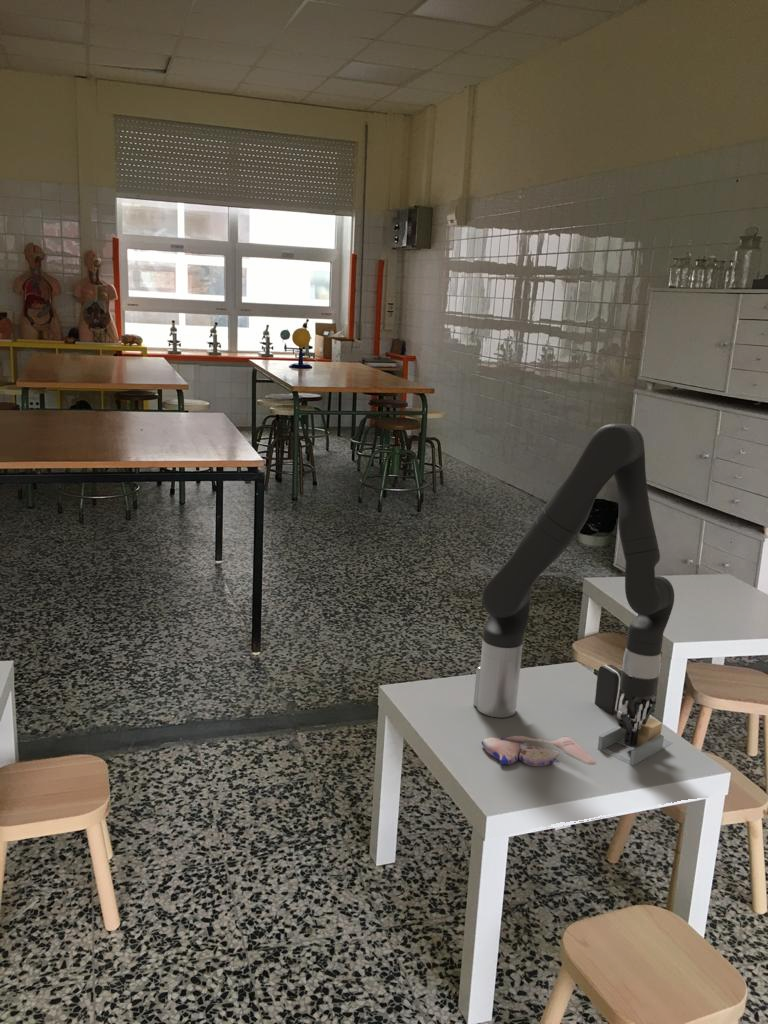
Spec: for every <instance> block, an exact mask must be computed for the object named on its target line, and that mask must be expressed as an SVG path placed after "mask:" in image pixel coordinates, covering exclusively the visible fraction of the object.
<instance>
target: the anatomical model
mask: <svg viewBox="0 0 768 1024" xmlns="http://www.w3.org/2000/svg"><path fill="white" fill-rule="evenodd" d="M524 741H533V742H541V743H545V744H550V745H553V746H555V747H556V748H558V749H560V750H561V751H562V752H563V753H565V754H566V755H567V756H569V757H572V758H573V759H576V760H578V761H579V762H582V763H584V764H586V765H591V766H593V765H596V764H597V763H598V761H597V760H596V759H595V758H594V757H593V756H592V755H590V754H589V753H588V752H587V751H586V750H585V749H584V748H582V746H580V745H579V744H578V743H577V742H576V741H574V740H573V739H572V738H570V737H568V736H563V737H560V738H558V739H556V740H553V741H551V740H550V741H548V740H546V739H543V738H534V737H533V738H532V737H529V736H525V735H513V736H506V737H486V738H485V739H482V740H481V741H480V742H481V745H482V747H483V749H484V750H485V751H486V752H487V753H488V754H489V755H491V756H492V757H493V758H495V759H498V760H499V763H500V764H502V765H511V764H514V763H516V762H517V761H518V760H519V761H521V762H522V763H524V764H526V765H528V766H531V767H543V766H549V765H552V764H554V762H555V761H557V757H558V756H559V755H560V751H559V750H554V749H552V748H550V747H549V748H548V747H541V746H531V745H530V746H525V747H523V748H522V749H521V745H520V744H525V742H524ZM518 758H519V759H518Z"/></svg>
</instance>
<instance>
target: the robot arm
mask: <svg viewBox="0 0 768 1024" xmlns="http://www.w3.org/2000/svg"><path fill="white" fill-rule="evenodd" d="M645 450H646V449H645V441H644V437H643V435H642V433H641V431H640V430H639V429H638V428H637V427H635V426H633V425H631V424H627V423H608V424H605V425H603V426H601V427H600V428H598V429H597V430H596V431H595V432H594V434H593V435H592V436H591V438H590V439H589V441H588V443H587V444H586V445H585V448H584V450H583V451H582V454H581V455H580V457H579V459H578V461H577V462H576V464H575V465H574V467H573V468H572V470H571V472H570V473H568V475H567V477H566V478H565V480H564V481H563V482H562V483H561V484H560V486H559V487H558V488H557V489H556V491H554V493H553V495H552V496H551V497H550V499H549V500H548V501H547V503H545V505H544V506H543V507H542V509H541V510H540V512H539V513H538V515H537V516H536V517H535V518H534V520H533V522H532V523H531V525H530V527H529V528H528V529H527V531H526V532H525V534H524V536H523V537H522V538H521V540H520V541H519V544H517V547H516V549H515V550H514V552H513V553H512V555H511V556H510V558H509V559H508V560H507V561H506V563H504V565H503V566H502V567H501V568H500V569H499V570H498V572H497V573H495V575H494V576H493V577H492V578H491V579H490V580H489V581H488V582H487V583H486V584H485V586H484V588H483V590H482V596H481V598H482V599H481V601H482V605H483V608H484V610H485V612H486V613H487V614H488V618H487V622H486V623H485V625H484V626H483V631H482V633H483V634H482V641H481V643H482V644H481V653H480V666H478V667H476V672H475V682H474V692H473V706H475V707H476V709H477V710H478V712H480V713H481V714H484V715H486V716H488V717H493V718H500V719H501V718H509V717H512V716H514V715H515V714H516V712H517V703H518V694H519V684H520V682H519V681H520V673H521V665H522V652H523V643H524V636H525V634H526V631H527V627H528V621H529V615H530V608H531V601H532V600H531V599H532V598H531V597H532V591H531V590H532V589H531V587H532V586H533V584H534V583H535V582H536V580H537V579H538V577H539V576H540V575H542V573H543V572H544V571H546V569H548V568H549V567H550V566H551V565H552V564H553V563H554V562H555V561H556V560H558V558H559V557H560V556H561V555H562V554H563V553H564V552H565V551H566V550H567V548H568V547H569V546H570V545H571V544H572V542H573V541H574V540H575V538H576V537H577V536H578V534H579V533H580V532H581V530H582V529H583V527H584V525H585V524H586V522H587V520H588V519H589V516H590V514H591V510H592V509H593V505H594V503H595V500H596V498H597V497H598V494H600V492H601V490H603V488H604V486H606V484H607V483H608V482H609V481H610V479H612V477H614V479H615V483H616V487H617V496H618V534H619V538H620V542H621V548H622V551H623V557H624V560H625V565H624V566H625V569H624V589H625V591H624V592H625V597H626V600H627V603H628V605H629V607H630V608H631V610H632V611H634V613H636V614H637V616H636V618H635V619H634V620H632V621H631V623H630V624H629V627H628V631H627V638H626V645H625V649H624V653H623V656H622V657H623V658H622V665H621V670H622V671H621V679H620V688H621V690H622V691H623V692H624V694H623V698H622V701H621V707H620V709H619V710H617V709H616V710H615V711H614V715H613V716H614V717H615V719H616V723H618V726H620V727H621V728H623V729H626V732H625V740H624V743H625V744H626V745H628V746H630V747H634V746H636V745H637V740H638V732H639V730H640V729H641V726H642V724H643V725H645V724H646V722H647V720H648V718H649V717H650V715H651V714H652V712H653V710H654V708H655V706H656V704H657V700H656V699H655V698H652V697H654V696H655V695H656V694H657V692H658V684H659V677H660V671H661V670H660V669H661V664H662V663H661V662H662V661H661V656H662V649H663V648H662V647H663V640H664V639H663V638H664V632H665V630H666V627H667V624H668V623H669V620H670V617H671V614H672V611H673V607H674V604H675V591H674V587H673V584H672V582H670V580H669V579H668V578H666V577H664V576H661V575H660V576H659V575H656V573H655V569H656V566H657V564H659V562H660V560H661V553H660V552H661V551H660V547H659V544H658V543H659V542H658V539H657V535H656V530H655V529H656V528H655V526H654V521H653V516H652V511H651V505H650V500H649V492H648V483H647V472H646V471H647V470H646V452H645Z"/></svg>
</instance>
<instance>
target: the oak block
mask: <svg viewBox="0 0 768 1024" xmlns="http://www.w3.org/2000/svg"><path fill="white" fill-rule="evenodd" d="M662 727H663V722H662V721H658V720H657V719H655V718H652V717H650V716H649V718H648V720H647V722H646V724H645V725H643V724H642V726H641V729H640V730H639V732H638V740H637V745H636V746H638V747H639V746H641V745H643V744H645V743H647V742H648V741H650V740H652V739H654V738H656V737H658V736H659V735H662V733H661V732H662Z"/></svg>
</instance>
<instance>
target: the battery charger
mask: <svg viewBox="0 0 768 1024" xmlns="http://www.w3.org/2000/svg"><path fill="white" fill-rule="evenodd" d="M621 671H622V669H620V668H618V667H617V666H616V665H615V666H614V665H613V664H607V665H606V664H603V665H601V666H599V668H598V671H597V678H596V686H595V687H596V688H595V697H594V705H595V706H597V707H598V708H600V709H601V710H603V711H605V712H606V713H608V714H609V715H611V716H615V715H614V711H615V710H616V709H617V710H620V709H619V707H620V701H621V697H622V695H624V692H623V691H622V690H621V688H620V679H621Z"/></svg>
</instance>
